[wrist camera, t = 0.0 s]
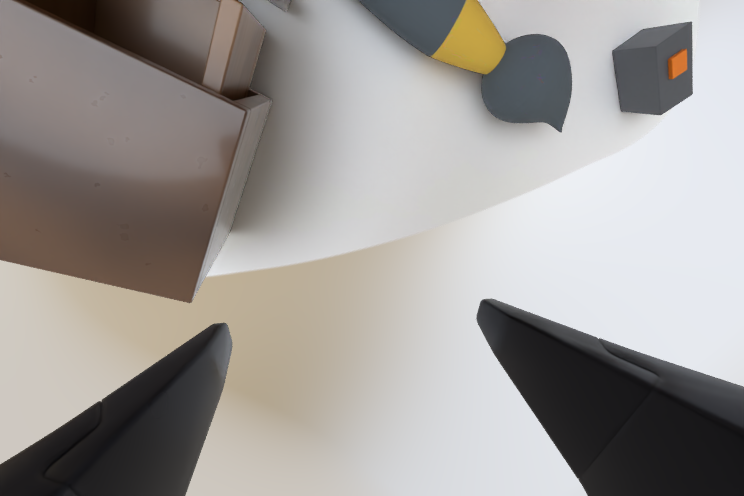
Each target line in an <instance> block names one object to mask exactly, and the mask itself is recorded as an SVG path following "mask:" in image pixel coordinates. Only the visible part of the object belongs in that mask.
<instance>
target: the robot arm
mask: <svg viewBox="0 0 744 496" xmlns="http://www.w3.org/2000/svg"><path fill="white" fill-rule="evenodd" d="M477 322H478V325H479V326H480V328H481V330H482V332H483V334H484V336H485V338H486V340H487V342H488V344H489V346H490V347H491V349H492V351H493V353H494V355H495V356H496V358H497V359H498V361H499V362H500V364H501V365H502V367H503V368H504V370H505V371H506V373H507V374H508V376H509V377H510V379H511V380H512V381H513V383H514V385H515V386H516V388H517V389H518V390H519V392H520V393H521V395H522V396H523V398H524V399H525V401H526V402H527V404H528V405H529V407H530V408H531V410H532V411H533V413H534V414H535V416H536V417H537V418H538V420H539V422H540V423H541V425H542V426H543V428H544V429H545V431H546V432H547V434H548V435H549V437H550V438H551V440H552V441H553V442H554V444H555V446H556V447H557V448H558V450H559V451H560V453H561V454H562V456H563V457H564V459H565V460H566V462H567V463H568V465H569V466H570V468H571V469H572V471H573V472H574V474H575V475H576V477H577V478H578V479H579V481H580V483H581V484H582V486H583V487H584V489H585V491H586V493H587V495H588V496H744V387H743V386H740V385H737V384H733V383H731V382H727V381H724V380H721V379H718V378H715V377H712V376H709V375H706V374H703V373H700V372H697V371H694V370H691V369H688V368H685V367H682V366H679V365H675V364H673V363H669V362H667V361H663V360H660V359H657V358H654V357H651V356H648V355H645V354H642V353H640V352H637V351H634V350H631V349H628V348H625V347H623V346H620V345H617V344H614V343H611V342H608V341H606V340H603V339H600V338H599V339H598V338H597V337H594V336H591V335H589V334H586V333H583V332H581V331H578V330H575V329H573V328H570V327H567V326H565V325H562V324H559V323H556V322H553V321H551V320H548V319H546V318H543V317H540V316H537V315H535V314H532V313H530V312H527V311H524V310H521V309H519V308H516V307H513V306H511V305H508V304H505V303H503V302H500V301H497V300H495V299H484V300H482V301H481V302H480V306H479V309H478V313H477ZM231 351H232V339H231V336H230V332H229V328H228V325H227V324H226V323H217V324H213V325H211V326H209V327H208V328H206V329H205V330H204V331H202V332H201V333H199V334H198V335H196V336H195V337H193V338H192V339H190V340H189V341H187V342H186V343H184V344H183V345H181V346H180V347H178V348H177V349H176V350H174V351H173V352H171V353H170V354H168V355H167V356H166V357H164V358H162V359H161V360H159V361H158V362H156V363H155V364H154V365H152V366H151V367H149V368H148V369H146V370H145V371H143V372H142V373H140V374H139V375H138V376H136V377H134V378H133V379H131V380H130V381H129V382H127V383H126V384H124V385H123V386H121V387H120V388H118V389H117V390H115V391H114V392H112V393H111V394H109V395H108V396H107V397H105V398H104V399H102V402H101V401H99V402H97V403H96V404H94V405H93V406H91V407H90V408H88V409H87V410H85V411H84V412H82V413H81V414H79V415H78V416H76V417H75V418H73V419H72V420H70V421H69V422H67V423H66V424H64V425H63V426H61V427H60V428H58V429H56V430H55V431H53V432H52V433H50V434H49V435H47V436H45V437H44V438H42V439H41V440H39V441H38V442H36V443H34V444H33V445H31V446H30V447H28V448H26V449H25V450H23V451H21V452H20V453H18V454H17V455H15V456H13V457H12V458H10V459H8V460H7V461H5V462H4V463H2V464H0V496H185V495H186V492H187V489H188V486H189V483H190V481H191V478H192V475H193V472H194V469H195V467H196V464H197V461H198V458H199V455H200V453H201V450H202V447H203V444H204V441H205V439H206V436H207V433H208V430H209V427H210V425H211V422H212V419H213V416H214V413H215V410H216V408H217V405H218V402H219V399H220V396H221V393H222V390H223V387H224V383H225V378H226V374H227V369H228V364H229V360H230V356H231Z"/></svg>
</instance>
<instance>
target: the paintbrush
mask: <svg viewBox="0 0 744 496" xmlns="http://www.w3.org/2000/svg"><path fill="white" fill-rule="evenodd" d="M359 1H360V2H361V3H362V4H363V5H364V6H365V7H366V8H367V9H368V10H369V11H370V12H372V13H373V14H374V15H375V16H376V17H377V18H378V19H380V20H381V21H382V22H383V23H384V24H385V25H386V26H388V27H389V28H390V29H391V30H393V31H394V32H395V33H397V34H398V35H399V36H400V37H402V38H403V39H404V40H406V41H407V42H408V43H410V44H411V45H413V46H414V47H415V48H417V49H418V50H420V51H421V52H423V53H424V54H426V55H428V56H430V57H432V58H434V59H437V60H439V61H442V62H445V63H448V64H451V65H454V66H457V67H460V68H463V69H466V70H470V71H473V72H477V73H481V74H483V77H482V84H481V90H482V97H483V100H484V103H485V105H486V107H487V109H488V110H489V111H490V113H491V114H493V115H494V116H495V117H496V118H498V119H500V120H502V121H506V122H511V123H534V122H544V123H548V124H550V125H551V126H553V127H554V128H555V129H556V130H558V131H559V132H562V126H563V123H564V120H565V117H566V114H567V110H568V107H569V103H570V98H571V91H572V74H571V66H570V61H569V58H568V55H567V52H566V51H565V49H564V47H563V46H562V45H561V44H560V43H559V42H558V41H557V40H555V39H554V38H552V37H549V36H546V35H540V34H531V35H525V36H521V37H518V38H516V39H513V40H511V41H509V42H508V43H506V44H505V43H504V41H503V40H502V38H501V36H500V34H499V33H498V31H497V29H496V28H495V26H494V24H493V23H492V21H491V20H490V18H489V17H488V15H487V14H486V12H485V11H484V9H483V8H482V6H481V5H480V4H479V2H478V1H477V0H359Z"/></svg>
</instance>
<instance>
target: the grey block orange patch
mask: <svg viewBox="0 0 744 496" xmlns="http://www.w3.org/2000/svg"><path fill="white" fill-rule="evenodd" d="M613 59H614V65H615V72H616V79H617V86H618V93H619V100H620V107H621V111H622V112H632V113H642V114H653V115H662V114H663V113H665V112H666V111H668V110H669V109H671V108H673V107H674V106H675V105H677V104H679V103H680V102H682V101H683V100H685V99H686V98H688V97H689V96H691V95H692V94H693V91H692V90H693V89H692V22H685V23H679V24H673V25H667V26H660V27H654V28H648V29H643V30H641V31H640V32H638V33H637V34H636V35H634V36H633V37H631V38H630V39H629V40H627V41H626V42H625V43H623V44H622V45H620V46H619V47H618V48H616V49H615V50H613Z"/></svg>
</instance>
